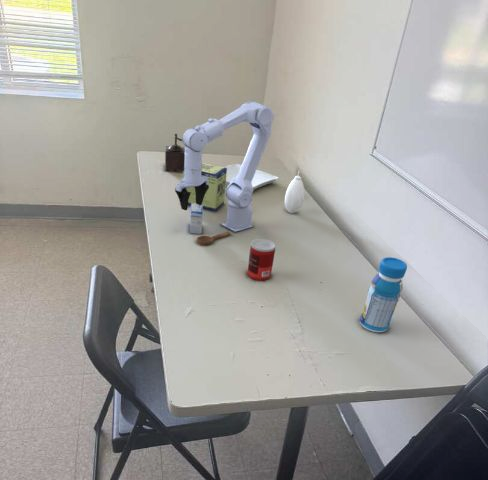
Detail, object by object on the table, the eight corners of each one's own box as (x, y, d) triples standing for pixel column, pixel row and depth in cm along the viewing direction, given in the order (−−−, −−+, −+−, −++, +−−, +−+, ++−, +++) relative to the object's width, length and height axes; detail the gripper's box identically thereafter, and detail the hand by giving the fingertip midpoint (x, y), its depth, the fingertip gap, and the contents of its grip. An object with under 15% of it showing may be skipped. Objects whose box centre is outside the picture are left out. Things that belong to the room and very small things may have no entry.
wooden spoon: (224, 231, 167) (224, 229, 166) (233, 237, 164) (234, 234, 164) (193, 241, 158) (193, 238, 157) (203, 246, 155) (203, 243, 154)
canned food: (273, 272, 145) (278, 242, 139) (266, 283, 139) (271, 252, 133) (251, 267, 147) (255, 236, 140) (243, 277, 141) (247, 246, 134)
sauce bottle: (292, 217, 186) (299, 174, 176) (279, 210, 191) (285, 168, 180) (304, 213, 191) (312, 171, 180) (291, 207, 195) (298, 166, 185)
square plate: (235, 170, 231) (235, 162, 229) (278, 184, 219) (280, 176, 217) (201, 180, 212) (201, 172, 210) (247, 196, 201) (248, 188, 198)
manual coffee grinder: (164, 171, 217) (164, 132, 206) (164, 164, 226) (164, 127, 215) (196, 173, 219) (197, 135, 209) (195, 166, 228) (196, 129, 218)
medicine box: (190, 224, 169) (190, 202, 164) (201, 225, 170) (202, 203, 165) (189, 233, 163) (190, 211, 158) (201, 234, 163) (203, 211, 158)
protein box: (215, 212, 182) (218, 174, 173) (181, 204, 185) (182, 166, 176) (224, 204, 190) (227, 167, 181) (191, 196, 193) (192, 160, 184)
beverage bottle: (370, 335, 122) (392, 272, 110) (353, 318, 128) (371, 256, 116) (394, 330, 125) (418, 268, 113) (376, 314, 131) (396, 253, 119)
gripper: (198, 161, 156) (196, 198, 164) (169, 168, 146) (168, 208, 154) (213, 166, 153) (211, 204, 160) (184, 174, 143) (183, 214, 151)
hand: (191, 206), depth 157 cm, fingers open, 7 cm apart
